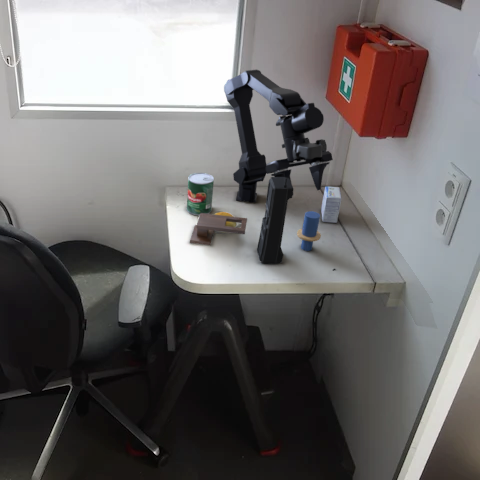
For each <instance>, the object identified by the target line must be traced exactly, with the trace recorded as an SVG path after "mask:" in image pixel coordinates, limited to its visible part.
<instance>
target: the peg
mask: <svg viewBox="0 0 480 480" xmlns="http://www.w3.org/2000/svg"><path fill="white" fill-rule="evenodd" d="M320 219H321V215H320V213H318V212H317V211H312V210H311V211H305V213H304V217H303V223H302V228H300V229H298V230H297V232H296V236H297V237H298V238H299V239H301V240H302V241H301V245H300V249H301V250H302V251H305V252H311V251H312V249H313V245H314V242H318V241H320V240H321V237H322V234H321V232H320V231H319V230H318V229H319V223H320Z"/></svg>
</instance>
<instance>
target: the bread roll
mask: <svg viewBox="0 0 480 480" xmlns="http://www.w3.org/2000/svg"><path fill="white" fill-rule="evenodd" d="M214 214H215V215H223V216H232V217H235V216H234V215H233V214H231V213H230V212H226V211H219V212H216V213H214ZM237 224H238V223H236V222H227V221H226V225H225V226H229V227H237ZM213 231H214V230H213ZM229 233H230V232H222V231H214V234H229Z"/></svg>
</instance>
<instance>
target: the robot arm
mask: <svg viewBox="0 0 480 480" xmlns="http://www.w3.org/2000/svg"><path fill="white" fill-rule="evenodd" d="M253 91H255V92H256V93H257V94H258V95H260V96H262V98H264V99H265V100H266V101H267V102H268V107H269V108H270V109H271V111H272V112H273V113H274V114H275V115H277V116H279V117H278V119H277V121H276V123H275V126H276V127H279V126H280V130H281V135H282V140H283V143H282V144H281V148H282V149H285V154H286V158H282V159H281V158H280V159H277V160H276V159H275V160H272V161H270V162H268V163H267V160H266V155H265V154H261V153H260V151H259V150H258V146H257V145H258V144H257V140H256V135H255V128H254V123H253V118H252V112H251V107H250V105H251V102H252V99H253V96H254V93H253ZM223 92H224V94H225V98H226V101H227V103H228V104H229V105H230V106H231V108H233V111H234V112H233V113H234V117H235V122H236V127H237V133H238V138H239V139H238V140H239V145H240V151H241V155H240V158H239V160H238V169H237V170H235V172H234V173H233V174H232V175H233V176H232V177H233V181H234V182H236V183H237V184H238V191H236V197H235V201H238V202H246V203H254V204H255V203H256V202H257V197H258V192H257V186H258V183H259V182H260V183H261V182H264V181H265V178H266V175H269V174H270V177H285V178H289V179H290V181H291V184H292V185H293V183H292V178H291V174H292V169H289V168H293V167H298V166H299V167H300V166H304V165H308V164H309V167H308V169H309V172H310V175H311V178H312V181H313V184H314V186H315V188H316V191H321V190H322V183H323V175H324V172H325V169H326V167H327V166H328V165H330V162H331V161H334V159H333V154H332V153H331V151H330V150H328V149H327V148H328V147H327V142H326V139H316V140H315V142H310V139H309V137H306V136H305V134H307V133H309V132H311V131H314V130H316V129H319V128H320V127H321V126H322V125H323V123H324V121H325V120H324V114H323V112H322V111H321V110H320V109H319V108H318V107H317V106H316V105H315V103H314V102H308V103H306V101H305V100H304V99H303V97H301V95H300V93H299V92H297V90H296V91H295V90H293V89H291V88H284V87H281V86H279V85H278V84H277V83H275V82H274V81H273V80H272V79H270V78H268V77H267V76H266V75H264V74H263V73H262V71H261V70H259V69H248V70H244V71H242V72H241V73H240V74H238V75H236V76H235V77H232V78H230V79H228V80H226V83H225V84H224V86H223Z"/></svg>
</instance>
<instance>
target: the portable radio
mask: <svg viewBox="0 0 480 480" xmlns="http://www.w3.org/2000/svg"><path fill="white" fill-rule="evenodd" d="M291 183H292V180H291V181H290V179H289V178H285V177H274V176H270V178H269V180H268V184H267V191H266V199H265V212H264V217H263V218H262V220H261V225H260V232H259V238H258V243H257V247H256V251H257V257H258V260H259V262H260V263H261V264H263V265H279V264H282V262H283V258H284V252H283V249H282V241H283V235H284V229H285V222H286V215H287V208H288V202H289V200H290V199H293V196H294V187H293V183H292V184H291Z"/></svg>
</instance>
